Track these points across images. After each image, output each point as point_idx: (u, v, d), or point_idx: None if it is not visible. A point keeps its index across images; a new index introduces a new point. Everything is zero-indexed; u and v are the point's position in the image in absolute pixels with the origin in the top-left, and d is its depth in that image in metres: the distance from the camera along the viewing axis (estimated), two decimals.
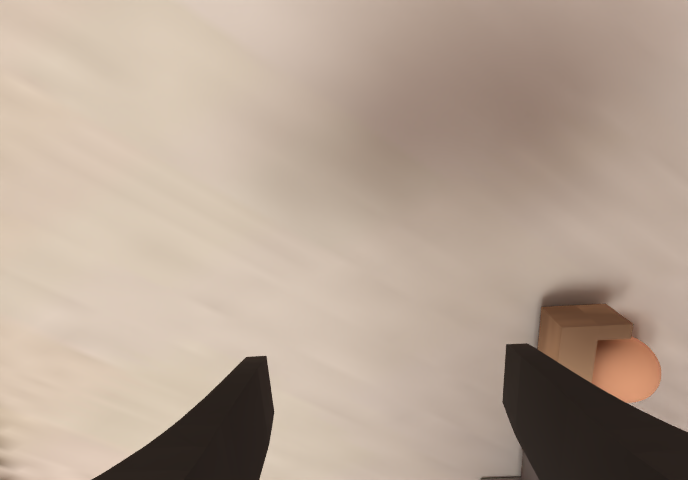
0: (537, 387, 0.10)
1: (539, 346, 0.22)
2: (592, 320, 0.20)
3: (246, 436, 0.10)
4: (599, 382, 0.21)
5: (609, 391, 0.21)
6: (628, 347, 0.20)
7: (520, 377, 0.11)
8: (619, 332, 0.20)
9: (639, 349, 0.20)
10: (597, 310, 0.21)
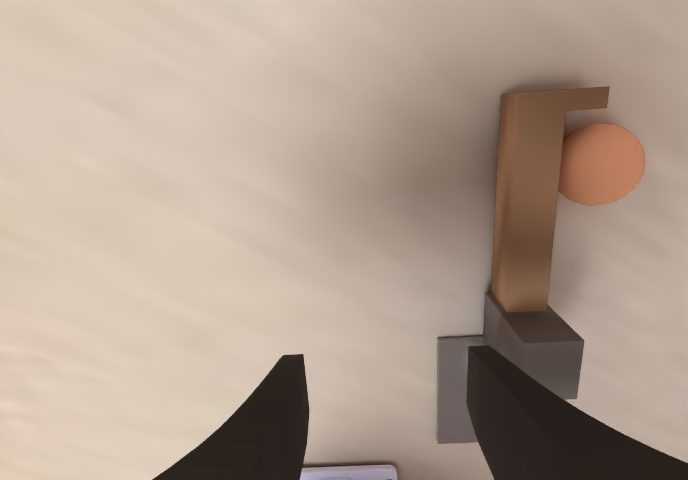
0: (492, 389, 0.10)
1: (499, 148, 0.18)
2: None
3: (290, 433, 0.10)
4: (569, 175, 0.17)
5: (581, 184, 0.17)
6: (604, 127, 0.17)
7: (479, 379, 0.11)
8: (592, 98, 0.16)
9: (618, 128, 0.16)
10: None
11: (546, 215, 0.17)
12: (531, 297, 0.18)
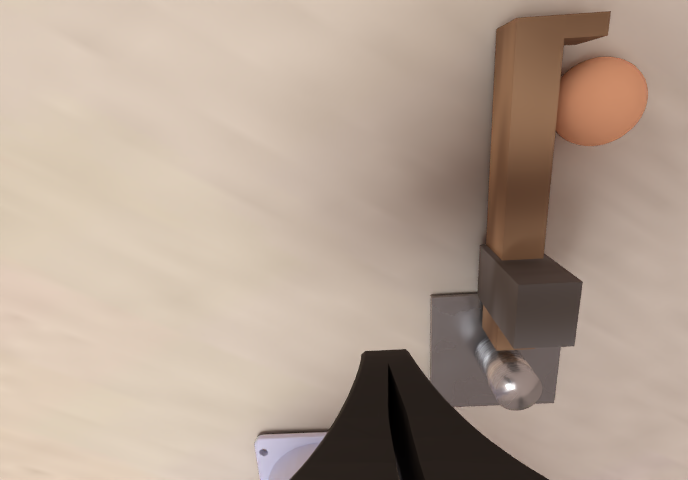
0: (394, 393, 0.10)
1: (495, 87, 0.18)
2: None
3: None
4: (568, 111, 0.16)
5: (580, 119, 0.16)
6: (605, 59, 0.16)
7: (389, 383, 0.11)
8: (592, 25, 0.15)
9: (619, 59, 0.16)
10: None
11: (543, 154, 0.16)
12: (527, 244, 0.18)
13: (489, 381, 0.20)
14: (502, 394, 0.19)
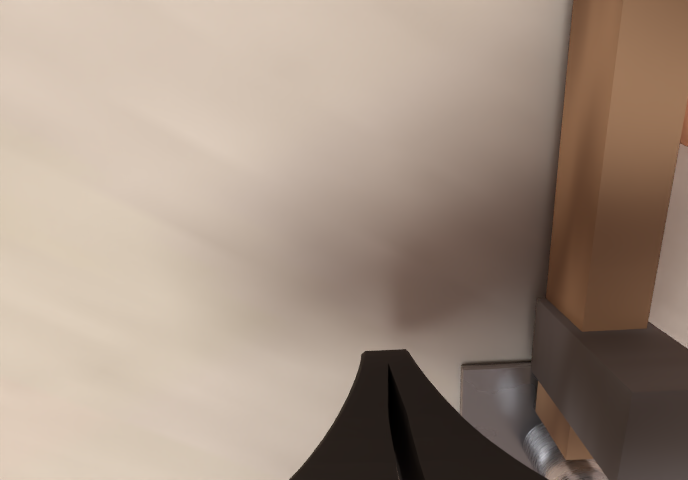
0: (394, 393, 0.10)
1: (570, 63, 0.11)
2: None
3: None
4: None
5: None
6: None
7: (389, 383, 0.11)
8: None
9: None
10: None
11: (659, 167, 0.10)
12: (623, 307, 0.11)
13: None
14: None
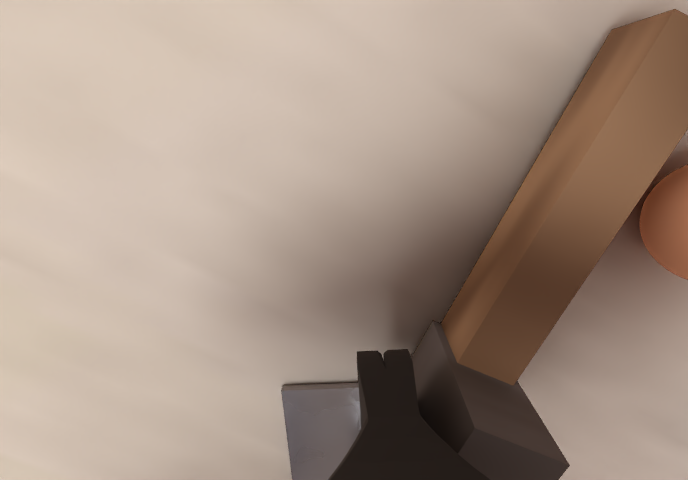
0: (361, 395, 0.10)
1: (565, 113, 0.11)
2: None
3: None
4: None
5: None
6: None
7: (359, 384, 0.11)
8: None
9: None
10: None
11: (594, 241, 0.10)
12: (503, 356, 0.11)
13: None
14: None
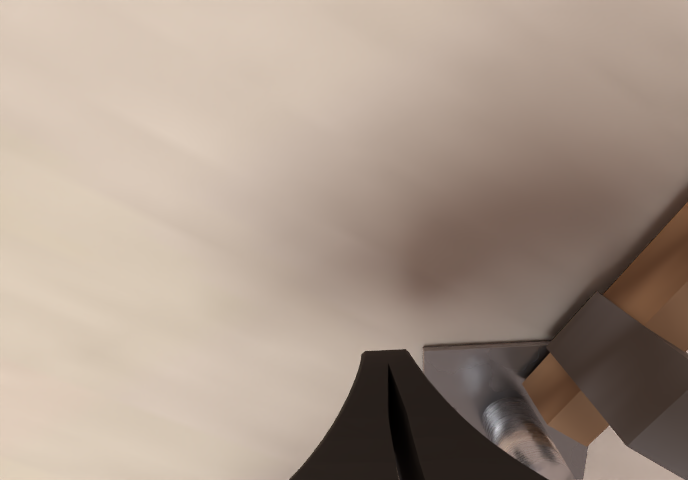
0: (394, 393, 0.10)
1: None
2: None
3: None
4: None
5: None
6: None
7: (389, 383, 0.11)
8: None
9: None
10: None
11: None
12: (685, 325, 0.13)
13: None
14: None
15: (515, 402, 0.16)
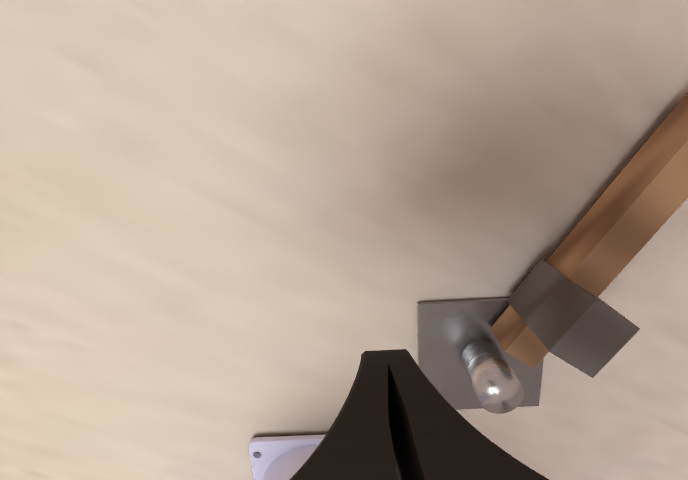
0: (394, 393, 0.10)
1: (651, 138, 0.19)
2: None
3: None
4: None
5: None
6: None
7: (389, 383, 0.11)
8: None
9: None
10: None
11: (662, 213, 0.18)
12: (595, 277, 0.19)
13: (473, 385, 0.21)
14: (485, 398, 0.20)
15: (485, 343, 0.22)
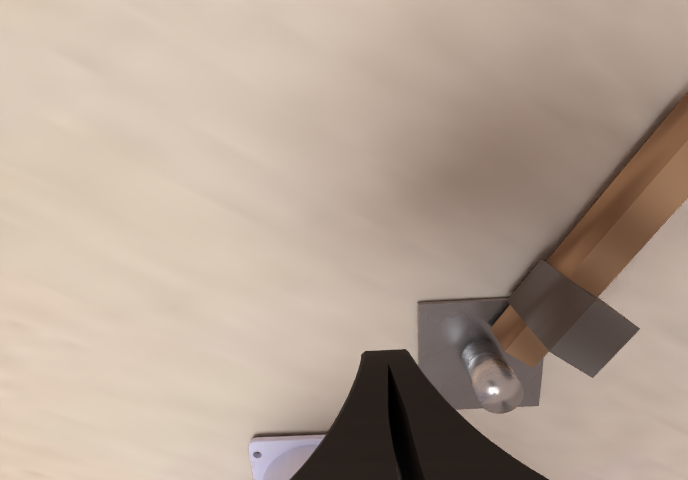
0: (394, 393, 0.10)
1: (651, 138, 0.19)
2: None
3: None
4: None
5: None
6: None
7: (389, 383, 0.11)
8: None
9: None
10: None
11: (662, 213, 0.18)
12: (595, 277, 0.19)
13: (473, 385, 0.21)
14: (485, 398, 0.20)
15: (485, 343, 0.22)
